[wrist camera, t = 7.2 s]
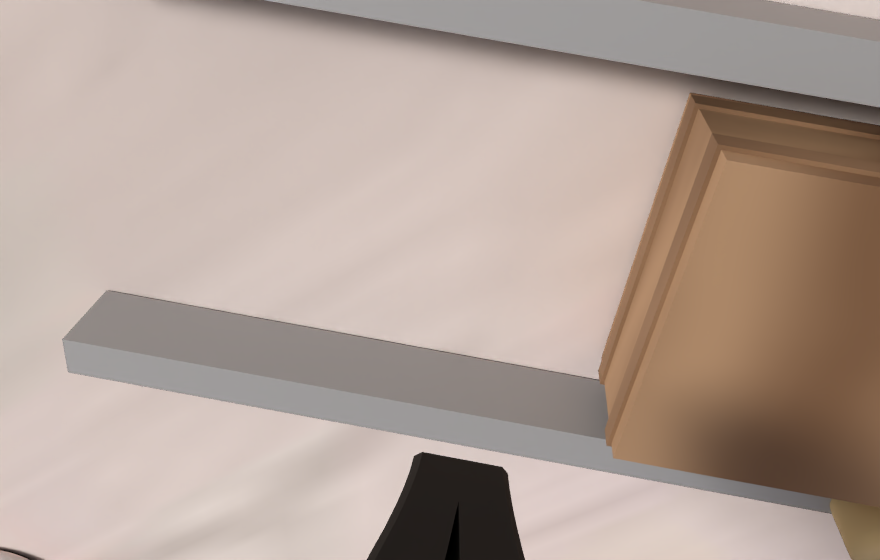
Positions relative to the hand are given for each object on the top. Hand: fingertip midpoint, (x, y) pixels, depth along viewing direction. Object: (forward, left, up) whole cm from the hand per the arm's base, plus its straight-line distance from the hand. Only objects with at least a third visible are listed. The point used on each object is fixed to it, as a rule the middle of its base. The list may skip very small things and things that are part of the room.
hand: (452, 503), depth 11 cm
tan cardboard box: (-8, 0, -10) cm, 13 cm away
